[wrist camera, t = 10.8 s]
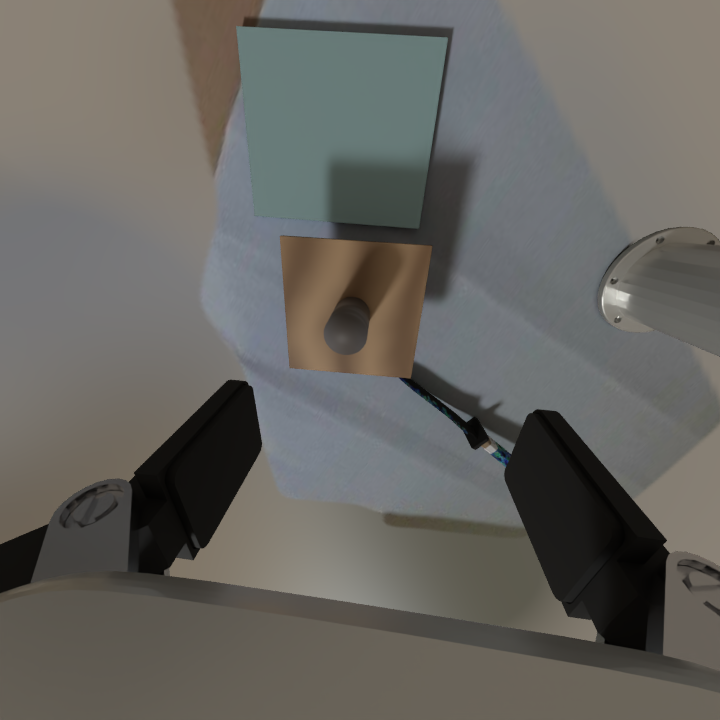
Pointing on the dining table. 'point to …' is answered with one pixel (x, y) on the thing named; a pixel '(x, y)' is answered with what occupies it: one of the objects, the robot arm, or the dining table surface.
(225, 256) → the dining table surface
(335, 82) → the mat
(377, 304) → the lid
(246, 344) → the dining table surface
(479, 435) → the knife
